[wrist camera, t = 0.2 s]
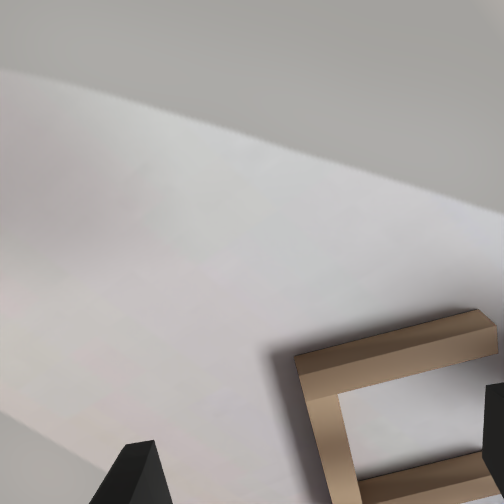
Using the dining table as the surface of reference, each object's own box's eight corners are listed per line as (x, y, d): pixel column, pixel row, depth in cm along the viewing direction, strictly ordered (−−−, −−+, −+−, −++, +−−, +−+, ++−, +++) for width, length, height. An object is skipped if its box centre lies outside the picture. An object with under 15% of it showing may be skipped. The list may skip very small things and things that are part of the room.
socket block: (490, 469, 25) (506, 492, 24) (333, 507, 26) (340, 532, 24) (478, 309, 21) (496, 325, 20) (293, 356, 22) (298, 375, 20)
